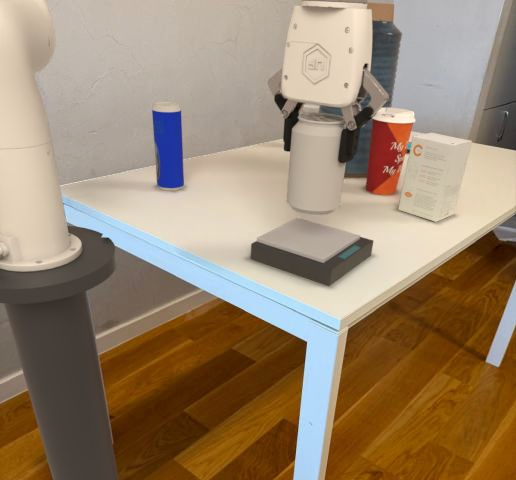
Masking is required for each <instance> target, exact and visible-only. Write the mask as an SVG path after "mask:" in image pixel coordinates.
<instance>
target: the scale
mask: <svg viewBox="0 0 516 480" xmlns="http://www.w3.org/2000/svg"><path fill="white" fill-rule="evenodd" d="M373 246H374V240H373V239H370V238H367V237H363V236H361V234H357V233H353V232H350V231H346V230H344V229H343V230H342V229H339V228H335V227H332V226H328V225H324V224H321V223H318V222H314V221H311V220H307V219H303V218H300V217H296V218H294V219H291V220H290V221H287V222H286V223H284V224H282V225H279V226H277V227H275V228H274V229H272V230H269V231H267V232H266V233H264V234H262V235H260V236H257V237H256V241H254V242H251V245H250V260H253V261H256V262H259V263H261V264H265V265H267V266H270V267H273V268H276V269H279V270H282V271H286V272H288V273H291V274H293V275H296V276H299V277H302V278H305V279H309V280H311V281H314V282H317V283H320V284H322V285H326V286H327V287H328V286H332V285H333V284H334V283H336V282H337V281H338V280H340V279H341V278H342V277H344V276H345V275H346V274H348V273H349V272H350V271H352V270H353V269H354V268H356V267H357V266H359V265H360V264H361V263H363V262H364V261H365V260H367V259H368V258H369V257H371V256H372V253H373V252H372V251H373Z"/></svg>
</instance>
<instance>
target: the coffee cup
mask: <svg viewBox="0 0 516 480" xmlns="http://www.w3.org/2000/svg"><path fill="white" fill-rule="evenodd" d="M415 122H416V118H415V112H414V111H413V110H410V109H406V108H399V107H391V108H381V109H380V110H378V112H377V113H376V115H375V116H374V117H373V124H372V133H371V143H370V152H369V162H368V171H367V177H366V181H365V183H366V184H365V190H366V191H367V192H369V193H371V194H375V195H380V196H390V195H393V194H395V193H396V191H397V188H398V184H399V181H400V176H401V172H402V168H403V165H404V161H405V157H406V154H407V153H406V149H407V146H408V142H410V137H411V133H412V130H413V125H414V123H415Z"/></svg>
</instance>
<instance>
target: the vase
mask: <svg viewBox="0 0 516 480" xmlns="http://www.w3.org/2000/svg"><path fill="white" fill-rule="evenodd" d="M367 9H372V57H371V69H370V73H371V74H372V75H373V76H374V78H375V79H376V80H377V81H378V82H379V84H380V85H381V86H382V87H383V88H384V90H385V91H386V92H387V93H388V95H389V99H388V101H387V102H386V103H385V104H384V105H383V106H382V107H381V108H393V104H392V103H393V97H394V90H395V84H396V77H397V70H398V64H399V59H400V58H399V57H400V56H399V55H400V51H401V50H400V48H401V42H402V39H403V32H402V31H401V30H400V29H399V28H398V27H397V25H396V24H395V23H394V17H395V16H394V15H395V4H394V3H385V2H384V3H383V2H368V3H367ZM370 101H371V96H370V95H369V93H368V92H367V95H366V98H365V100H364V101H363V102H361V103H360V105H361V109H362V110H363V109H364V108H365V107H366V106H367V105H368V104H369V102H370ZM318 106H319V113H325V114H333V115H338V116H342V117H344V116H343V114H342V111H341V108H340V107H330V106H323V105H318ZM372 124H373V118H371V119H370V120H369V121H368V122H367V123H366V124H365V125H364V126H363V127H361V128H360V135H359V142H358V149H357V153H356V155H355V156H354V158H353V160H351V161H348V162H346V165H345V173H344V178H367V171H368V162H369V152H370V143H371V133H372ZM345 125H346V122H345Z"/></svg>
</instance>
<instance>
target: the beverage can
mask: <svg viewBox="0 0 516 480" xmlns="http://www.w3.org/2000/svg"><path fill="white" fill-rule="evenodd" d="M151 115H152V128H153V129H152V130H153V141H154V143H153V144H154V157H155V172H156V173H155V175H156V186H157V187H158V188H159V189H160V190H161V191H164V192H165V191H167V192H174V191H180V190H182V188H183V187H184V185H185V177H184V175H185V174H184V173H185V172H184V152H183V150H184V148H183V126H182V125H183V124H182V123H183V122H182V108H181V106H180V103H179V102H175V101H156V102H153V103H152V108H151Z"/></svg>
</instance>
